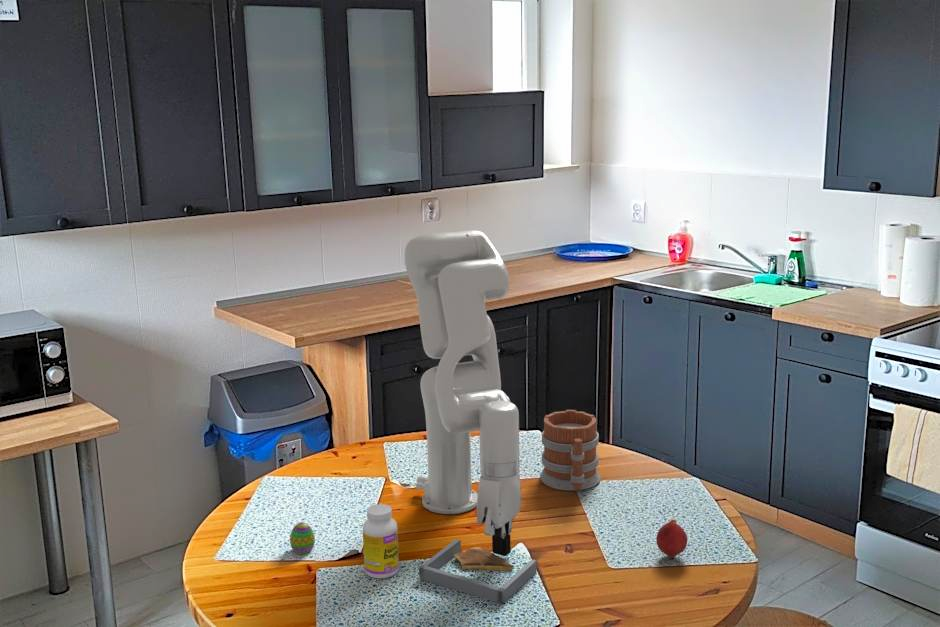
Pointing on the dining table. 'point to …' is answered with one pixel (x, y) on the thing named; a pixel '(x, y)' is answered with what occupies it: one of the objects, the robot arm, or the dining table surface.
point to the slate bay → (470, 586)
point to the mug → (570, 451)
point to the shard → (481, 560)
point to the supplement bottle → (380, 542)
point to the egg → (302, 538)
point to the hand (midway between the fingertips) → (501, 552)
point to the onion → (671, 539)
